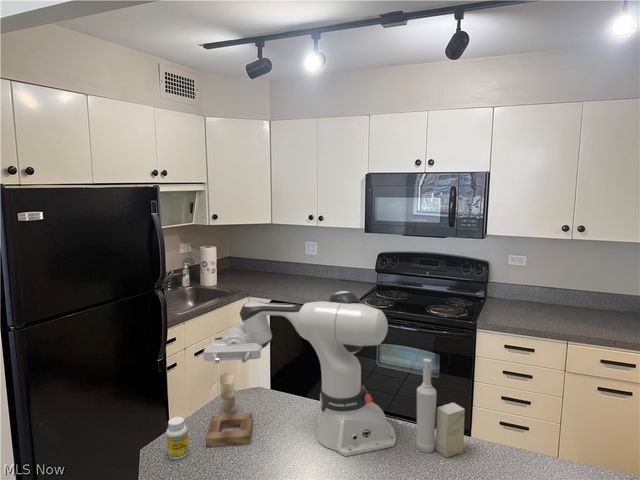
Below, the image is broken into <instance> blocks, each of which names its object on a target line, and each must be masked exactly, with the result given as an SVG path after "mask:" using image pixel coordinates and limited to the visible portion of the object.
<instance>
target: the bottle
mask: <svg viewBox="0 0 640 480" xmlns="http://www.w3.org/2000/svg"><path fill="white" fill-rule="evenodd" d="M422 362H423V364H422V367H423V369H422V370H423V371H422V372H423V373H422V383H421V385H419V386H417V388H416V439H415V445H416V449H417V450H418V451H420V452H422V453H425V454H428V453H429V454H430V453H432V452H434V451H435V449H436V440H435V437H436V416H437V394H438V393H437V390H436V389H435V388H434V387H433V384H432V383H431V381H432V374H431V373H432V360H431V358H423V360H422Z"/></svg>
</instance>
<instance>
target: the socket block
mask: <svg viewBox="0 0 640 480" xmlns="http://www.w3.org/2000/svg"><path fill="white" fill-rule="evenodd" d="M229 428H239V430H230V431H229V430H228V431H227V430H226V431H222V429H229ZM252 428H253V412H248V413H234V414H230V415H222V414H216V415H211V419H210V422H209V425H208V428H207V429H208V430H207V432H206V437H205V447H206V448H215V447H216V448H217V447H227V446H229V447H230V446H231V447H233V446H243V445H251V437H252Z"/></svg>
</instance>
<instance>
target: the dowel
mask: <svg viewBox="0 0 640 480" xmlns="http://www.w3.org/2000/svg"><path fill="white" fill-rule="evenodd" d="M219 389H220V390H219V391H220V415H230V414H236V397H235V395H236V394H235V393H236V392H235V374H233V373H230V372H229V373H223V374H221V375H220V376H219Z"/></svg>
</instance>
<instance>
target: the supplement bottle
mask: <svg viewBox="0 0 640 480" xmlns="http://www.w3.org/2000/svg"><path fill="white" fill-rule="evenodd" d="M167 424H168V425H167V429H166V431H165V432H166V434H165V435H166V447H167V457H168V458H169V459H171V460H180V459H182V458H184V457H186V456H187V455H188V453H189V452H190V451H189V435H188V434H189V433H188V427H187V425H186V424H185V418H184V417H182V416H174V417H172V418H170V419H169V420H168V422H167Z"/></svg>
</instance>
